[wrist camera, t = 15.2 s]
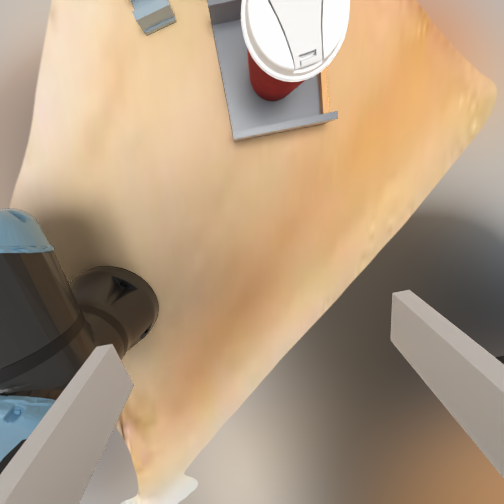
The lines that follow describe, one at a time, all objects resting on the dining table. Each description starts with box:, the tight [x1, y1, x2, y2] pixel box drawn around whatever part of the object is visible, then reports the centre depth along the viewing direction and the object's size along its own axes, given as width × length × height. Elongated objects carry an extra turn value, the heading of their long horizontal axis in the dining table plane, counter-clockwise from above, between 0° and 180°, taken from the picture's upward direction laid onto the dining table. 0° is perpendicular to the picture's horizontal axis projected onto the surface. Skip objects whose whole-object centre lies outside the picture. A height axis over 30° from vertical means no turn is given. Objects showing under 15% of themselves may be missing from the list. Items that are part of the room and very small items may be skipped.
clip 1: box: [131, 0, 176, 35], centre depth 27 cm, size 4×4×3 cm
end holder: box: [207, 0, 338, 141], centre depth 29 cm, size 13×14×5 cm
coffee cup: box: [241, 0, 350, 101], centre depth 24 cm, size 8×8×15 cm
